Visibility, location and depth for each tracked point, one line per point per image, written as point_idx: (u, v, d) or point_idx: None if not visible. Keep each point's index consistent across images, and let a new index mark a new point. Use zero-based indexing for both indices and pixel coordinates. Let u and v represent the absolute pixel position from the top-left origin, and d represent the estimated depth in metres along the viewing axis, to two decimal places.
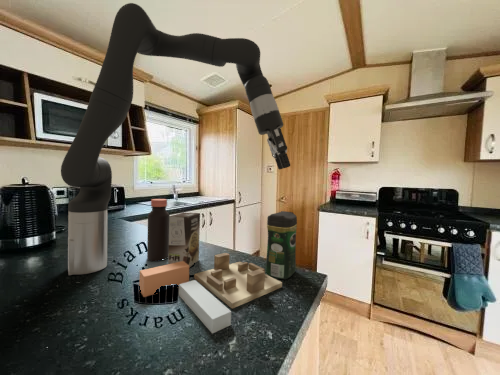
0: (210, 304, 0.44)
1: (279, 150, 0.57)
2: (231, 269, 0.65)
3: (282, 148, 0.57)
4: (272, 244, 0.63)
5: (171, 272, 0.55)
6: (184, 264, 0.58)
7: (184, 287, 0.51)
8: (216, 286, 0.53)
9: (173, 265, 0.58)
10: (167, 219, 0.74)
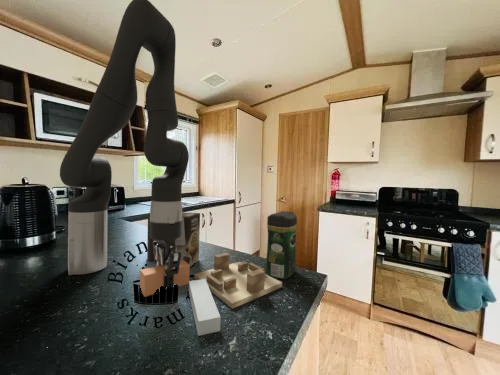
0: (205, 305, 0.44)
1: (169, 275, 0.52)
2: (231, 269, 0.65)
3: (173, 273, 0.52)
4: (272, 244, 0.63)
5: None
6: (184, 263, 0.59)
7: (191, 284, 0.52)
8: (216, 286, 0.53)
9: None
10: None
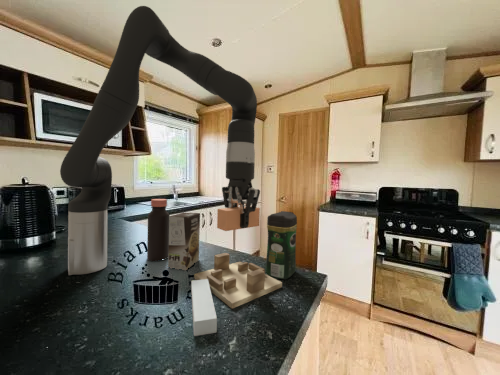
0: (204, 305, 0.44)
1: (248, 211, 0.54)
2: (231, 269, 0.65)
3: (251, 209, 0.55)
4: (272, 244, 0.63)
5: None
6: None
7: (193, 284, 0.52)
8: (216, 286, 0.53)
9: None
10: (167, 219, 0.74)
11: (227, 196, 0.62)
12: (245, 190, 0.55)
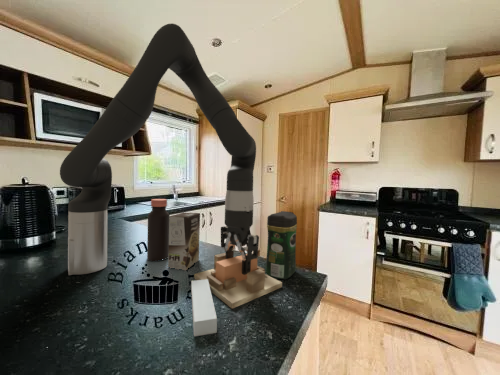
0: (204, 306, 0.44)
1: (250, 259, 0.54)
2: None
3: (253, 257, 0.54)
4: (272, 244, 0.63)
5: None
6: None
7: (193, 284, 0.52)
8: (216, 286, 0.53)
9: None
10: (167, 219, 0.74)
11: (224, 237, 0.63)
12: (244, 236, 0.56)
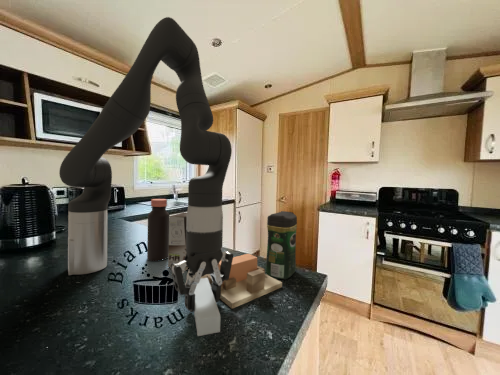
0: (206, 304, 0.44)
1: (177, 289, 0.44)
2: None
3: (178, 290, 0.43)
4: (272, 244, 0.63)
5: (244, 263, 0.58)
6: (252, 256, 0.62)
7: None
8: None
9: (243, 257, 0.61)
10: (167, 219, 0.74)
11: (222, 264, 0.51)
12: None
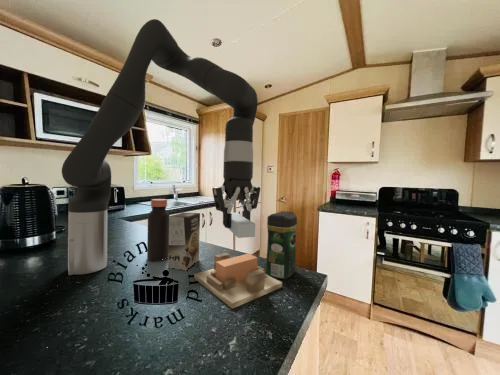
0: (241, 220, 0.54)
1: (217, 209, 0.54)
2: None
3: (218, 208, 0.54)
4: (272, 244, 0.63)
5: (244, 263, 0.58)
6: (252, 256, 0.62)
7: None
8: (216, 286, 0.53)
9: (243, 257, 0.61)
10: (167, 219, 0.74)
11: (251, 196, 0.61)
12: None
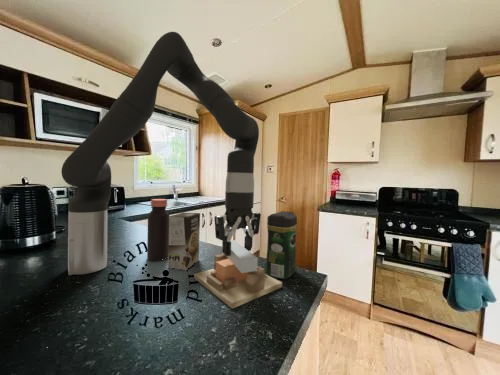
0: (243, 253, 0.56)
1: (216, 237, 0.56)
2: None
3: (218, 237, 0.55)
4: (272, 244, 0.63)
5: None
6: None
7: None
8: (216, 286, 0.53)
9: None
10: (167, 219, 0.74)
11: (252, 222, 0.63)
12: None
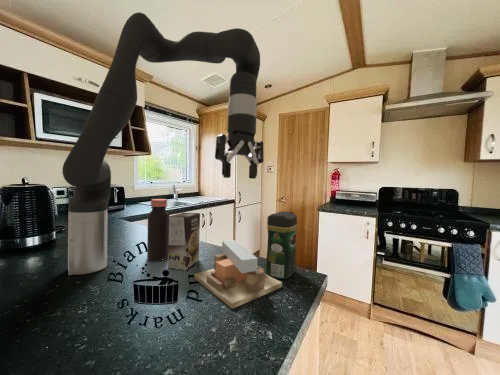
0: (243, 253, 0.56)
1: (216, 157, 0.54)
2: None
3: (217, 156, 0.54)
4: (272, 244, 0.63)
5: None
6: None
7: (225, 243, 0.64)
8: (216, 286, 0.53)
9: None
10: (167, 219, 0.74)
11: (255, 152, 0.62)
12: None
